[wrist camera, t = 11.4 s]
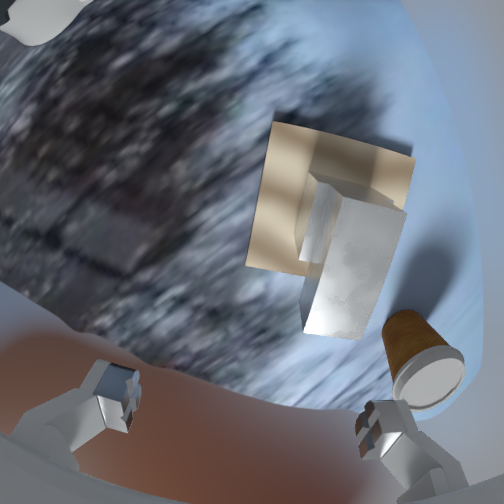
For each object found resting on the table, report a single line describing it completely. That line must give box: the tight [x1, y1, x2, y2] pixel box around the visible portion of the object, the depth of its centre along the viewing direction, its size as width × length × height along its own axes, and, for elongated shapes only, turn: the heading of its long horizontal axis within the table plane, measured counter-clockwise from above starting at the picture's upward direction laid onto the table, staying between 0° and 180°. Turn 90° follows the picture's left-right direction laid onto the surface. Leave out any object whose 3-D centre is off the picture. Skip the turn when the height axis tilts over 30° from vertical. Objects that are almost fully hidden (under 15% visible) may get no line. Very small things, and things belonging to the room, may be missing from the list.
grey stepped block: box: [293, 171, 407, 340], centre depth 28 cm, size 11×7×12 cm, turn 170°
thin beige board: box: [246, 121, 416, 277], centre depth 31 cm, size 16×16×6 cm
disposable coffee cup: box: [382, 310, 465, 412], centre depth 34 cm, size 10×10×12 cm
